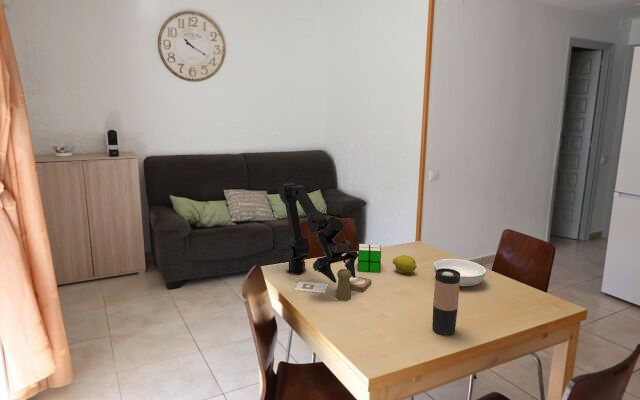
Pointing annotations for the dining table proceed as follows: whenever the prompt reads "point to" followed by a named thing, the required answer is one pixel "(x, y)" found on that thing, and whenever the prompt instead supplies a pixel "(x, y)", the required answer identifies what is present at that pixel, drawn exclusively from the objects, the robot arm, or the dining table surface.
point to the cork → (343, 285)
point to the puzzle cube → (369, 258)
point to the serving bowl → (463, 270)
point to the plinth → (359, 283)
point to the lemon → (405, 264)
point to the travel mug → (445, 301)
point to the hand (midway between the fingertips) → (345, 279)
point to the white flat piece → (311, 287)
